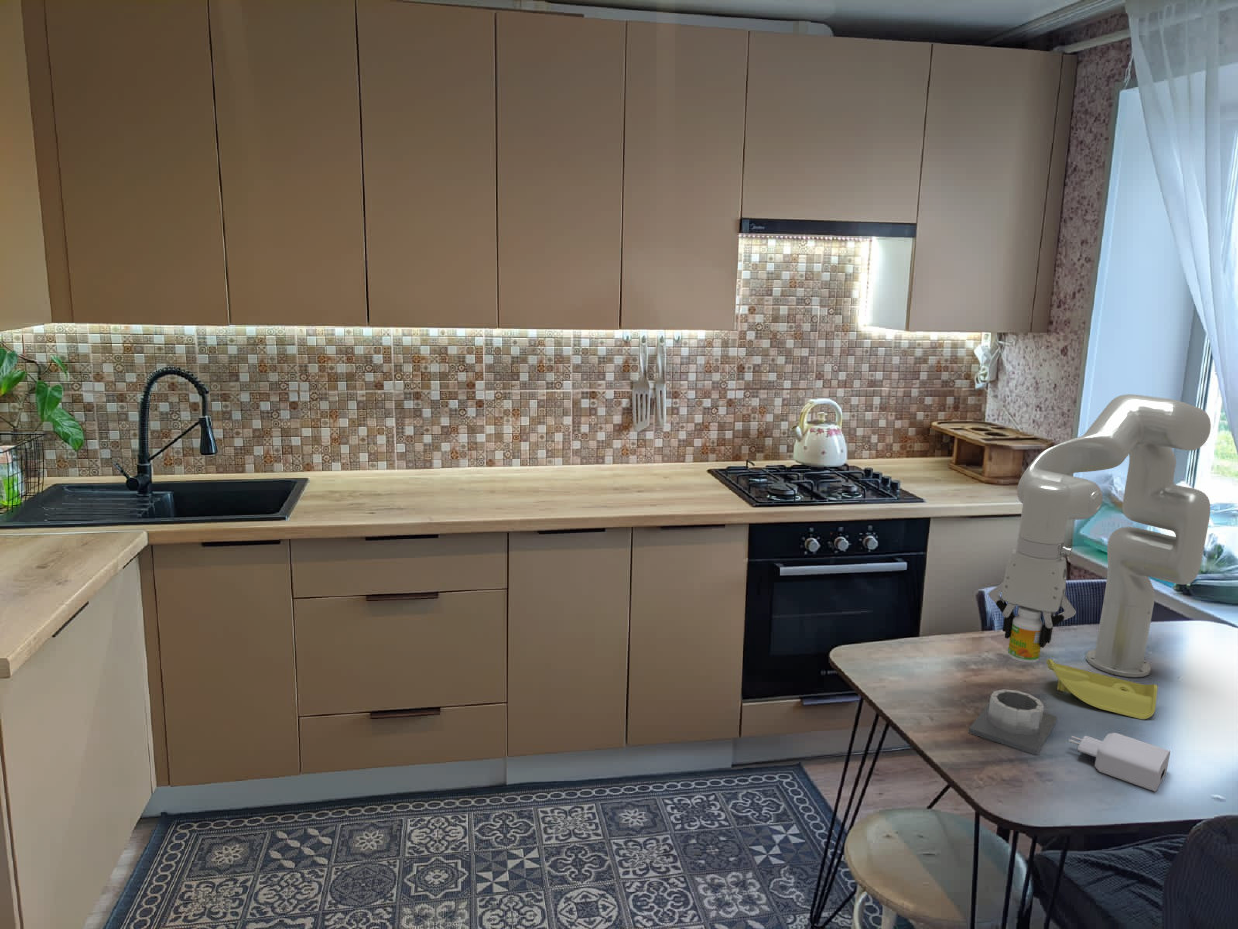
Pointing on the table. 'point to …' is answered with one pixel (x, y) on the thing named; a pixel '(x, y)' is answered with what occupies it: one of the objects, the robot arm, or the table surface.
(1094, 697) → the plastic component
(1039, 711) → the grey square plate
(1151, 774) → the charger
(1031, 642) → the supplement bottle
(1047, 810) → the table surface
